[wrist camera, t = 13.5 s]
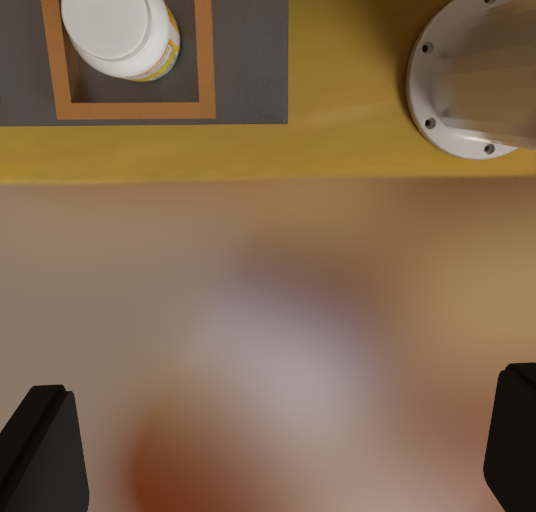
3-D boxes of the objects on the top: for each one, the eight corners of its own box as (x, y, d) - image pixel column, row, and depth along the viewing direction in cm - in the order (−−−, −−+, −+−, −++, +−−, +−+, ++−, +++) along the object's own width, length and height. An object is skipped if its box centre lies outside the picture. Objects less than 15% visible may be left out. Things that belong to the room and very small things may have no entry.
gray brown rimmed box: (282, -38, 34) (293, -68, 28) (281, 121, 38) (291, 125, 32) (-53, -43, 33) (-118, -76, 27) (-22, 123, 36) (-73, 129, 30)
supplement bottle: (179, 86, 33) (160, 82, 24) (98, 77, 32) (47, 69, 23) (183, -2, 31) (164, -43, 22) (98, -13, 30) (42, -59, 21)
